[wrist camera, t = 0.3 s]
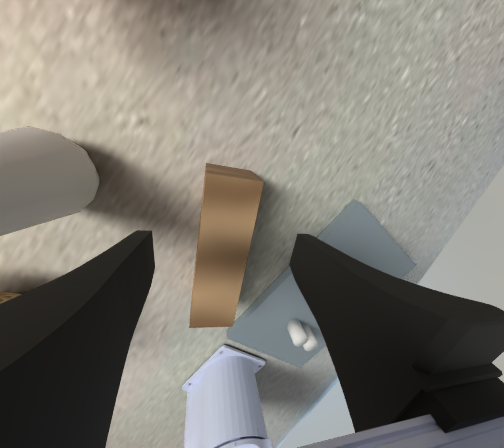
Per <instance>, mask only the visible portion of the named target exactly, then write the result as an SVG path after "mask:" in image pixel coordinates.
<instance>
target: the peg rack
mask: <svg viewBox="0 0 504 448" xmlns="http://www.w3.org/2000/svg"><path fill="white" fill-rule="evenodd" d="M317 238H318V239H319V240H321V241H323V242H325V243H327V244H329V245H330V246H332V247H334V248H336V249H338V250H339V251H341V252H343V253H345V254H347V255H349V256H350V257H352V258H354V259H356V260H358V261H360V262H362V263H364V264H366V265H369V266H371V267H373V268H375V269H378V270H380V271H382V272H385V273H387V274H389V275H392V276H394V277H397V278H400V279H401V278H403V277H404V276H405V275H406V274H407V273H408V272H409V271H410V270H412V269H413V268H414V267H415V266H416V264H415V263H414V262H413V261H412V260H411V259H410V257H409V256H408V255H407V254H406V253H405V252H404V251H403V250H402V248H401V247H400V246H399V245H398V244H397V243H396V242H395V240H394V239H393V238H392V237H391V236H390V235H389V234H388V233H387V231H386V230H385V229H384V228H383V227H382V226H381V225H380V224H379V222H378V221H377V220H376V219H375V218H374V217H373V216H372V215H371V213H370V212H369V211H368V210H367V209H366V208H365V207H364V206H363V204H362V203H360V202H358V201H356V200H353V201H352V202H351V203H350V204H349V205H348V206H347V207H346V208H345V209H344V210H343V211H342V212H341V213H340V214H339V215H338V216H337V217H336V218H335V219H334V220H333V221H332V222H331V223H330V224H329V225H328V226H327V227H326V228H325V229H324V230H323V231H322V232H321V234H320V235H319V236H318V237H317ZM227 338H228V339H230V340H232V341H235V342H237V343H240V344H242V345H245V346H247V347H250V348H252V349H255V350H257V351H260V352H262V353H265V354H267V355H270V356H272V357H275V358H277V359H280V360H282V361H285V362H287V363H290V364H292V365H295V366H297V367H300V368H301V367H302V366H303V365H304V364H305V363H306V362H307V361H308V360H310V359H311V358H312V357H313V356H314V355H315V354H316V353H318V352H319V351H320V350H321V349H322V348H323V347H324V346H325V345H326V343H325V340H324V338H323V336H322V333H321V331H320V328H319V326H318V324H317V322H316V320H315V318H314V316H313V314H312V312H311V310H310V308H309V306H308V304H307V303H306V301H305V299H304V297H303V295H302V293H301V291H300V289H299V288H298V286H297V284H296V282H295V279H294V277H293V274H292V271H291V268H290V265H289V266H288V268H287V269H286V270H285V271H284V272H283V273H282V274H281V275H280V276H279V277H278V278H277V279H276V280H275V281H274V282H273V283H272V284H271V285H270V286H269V287H268V288H267V289H266V290H265V291H264V292H263V293H262V294H261V295H260V296H259V297H258V298H257V299H256V300H255V301H254V303H253V304H252V305H251V306H250V307H249V308H248V309H247V310H246V311H245V312H244V313H243V314H242V315H241V316H240V317H239V318H238V319H237V320H236V321H235V322H234V323H233V326H232V327H229V328H228V329H227Z"/></svg>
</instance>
